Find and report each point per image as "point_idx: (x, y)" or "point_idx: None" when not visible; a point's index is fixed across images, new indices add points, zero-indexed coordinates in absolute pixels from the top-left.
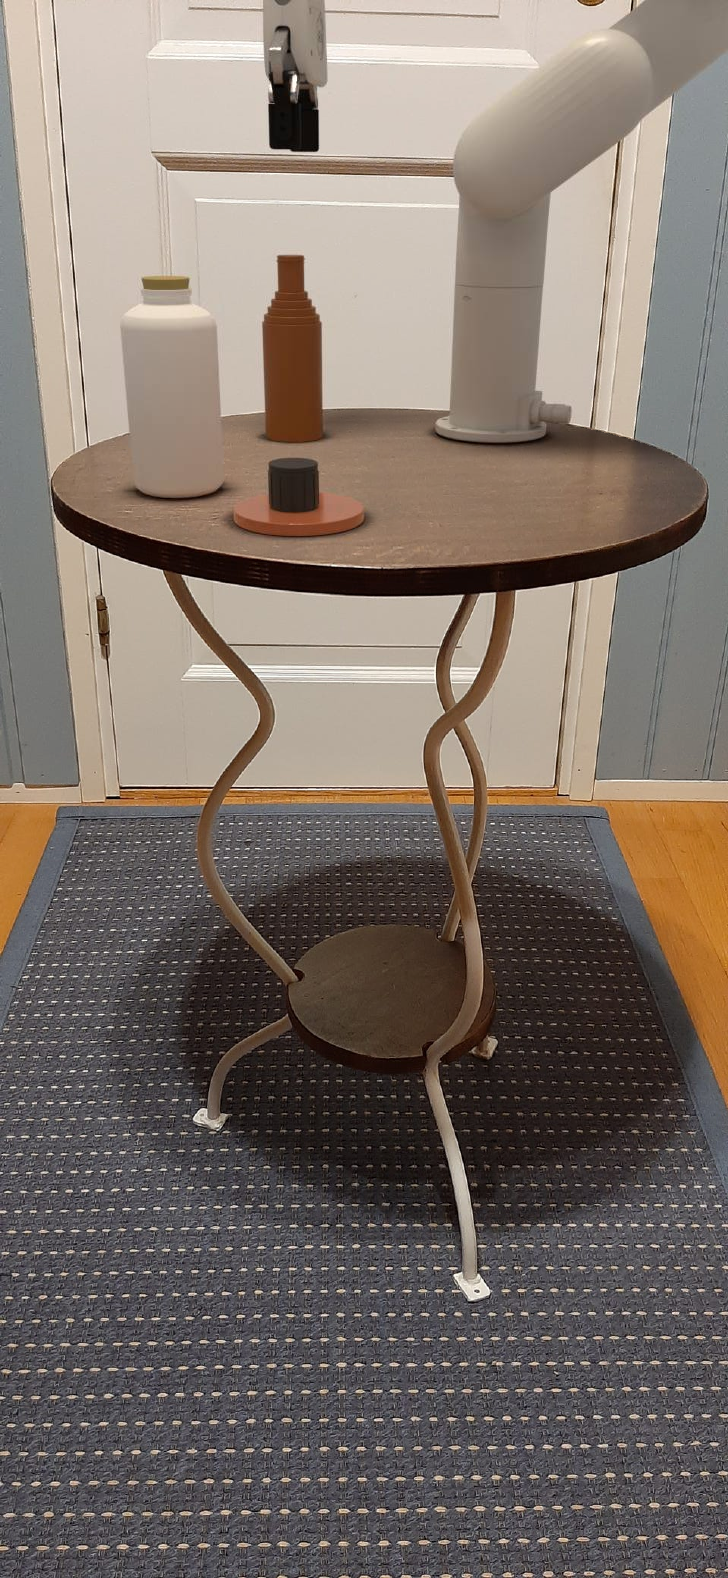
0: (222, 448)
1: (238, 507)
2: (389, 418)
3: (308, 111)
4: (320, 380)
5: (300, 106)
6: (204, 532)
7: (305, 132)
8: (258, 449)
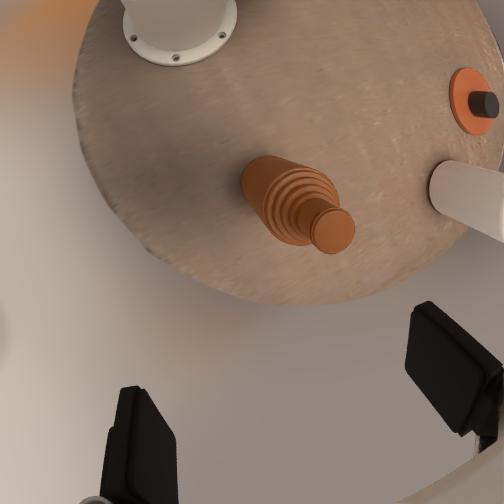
0: (457, 164)
1: (482, 131)
2: (134, 136)
3: (148, 500)
4: (282, 160)
5: (486, 368)
6: (492, 140)
7: (157, 449)
8: None
